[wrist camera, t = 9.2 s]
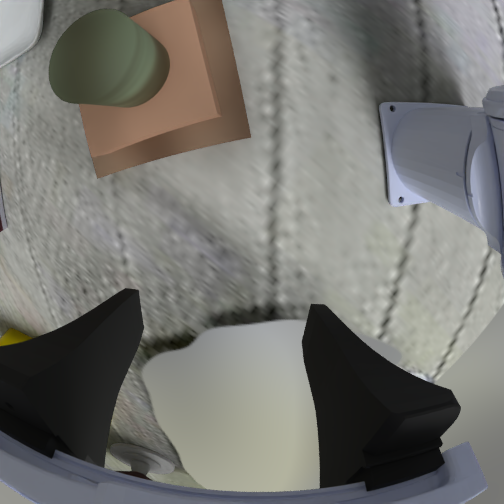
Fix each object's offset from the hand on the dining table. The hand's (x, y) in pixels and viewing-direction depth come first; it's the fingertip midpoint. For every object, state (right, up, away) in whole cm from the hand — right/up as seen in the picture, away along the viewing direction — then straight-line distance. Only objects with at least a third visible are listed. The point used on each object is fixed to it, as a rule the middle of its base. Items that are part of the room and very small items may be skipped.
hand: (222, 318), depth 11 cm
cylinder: (-5, +13, +1) cm, 14 cm away
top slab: (-5, +14, +3) cm, 15 cm away
